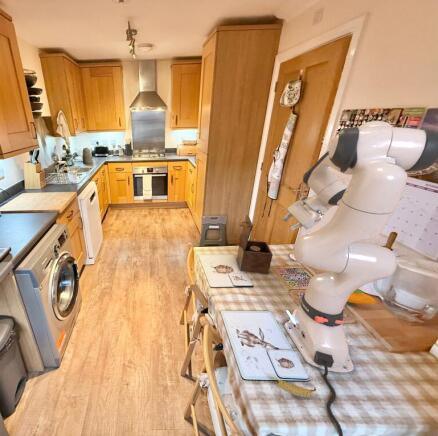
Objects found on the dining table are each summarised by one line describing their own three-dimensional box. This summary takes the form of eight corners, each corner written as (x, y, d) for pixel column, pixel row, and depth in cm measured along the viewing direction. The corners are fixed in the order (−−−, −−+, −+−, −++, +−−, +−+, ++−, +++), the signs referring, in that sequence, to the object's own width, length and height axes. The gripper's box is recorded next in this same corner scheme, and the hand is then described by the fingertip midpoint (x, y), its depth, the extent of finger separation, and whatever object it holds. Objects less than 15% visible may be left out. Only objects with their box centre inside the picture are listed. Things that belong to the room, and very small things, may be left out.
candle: (306, 261, 127) (319, 220, 117) (293, 261, 127) (305, 220, 117) (299, 254, 134) (310, 215, 123) (286, 254, 134) (297, 215, 124)
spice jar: (257, 267, 122) (261, 251, 118) (247, 266, 123) (251, 250, 119) (256, 261, 126) (259, 246, 122) (246, 260, 127) (249, 245, 123)
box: (262, 260, 129) (266, 241, 124) (268, 273, 118) (272, 254, 113) (237, 257, 132) (239, 239, 127) (240, 270, 121) (243, 251, 116)
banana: (276, 393, 68) (279, 384, 66) (274, 384, 70) (276, 376, 68) (314, 401, 65) (318, 393, 64) (311, 392, 68) (315, 384, 66)
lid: (248, 215, 121) (238, 213, 121) (253, 225, 109) (242, 223, 110) (240, 239, 127) (231, 237, 128) (244, 251, 116) (234, 249, 116)
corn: (319, 275, 104) (376, 287, 96) (314, 288, 107) (369, 300, 100) (322, 287, 98) (384, 300, 90) (317, 299, 101) (376, 313, 94)
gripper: (330, 220, 98) (299, 239, 104) (308, 204, 116) (283, 220, 122) (321, 210, 97) (291, 229, 103) (301, 195, 115) (276, 212, 121)
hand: (286, 224), depth 113 cm, fingers open, 8 cm apart
